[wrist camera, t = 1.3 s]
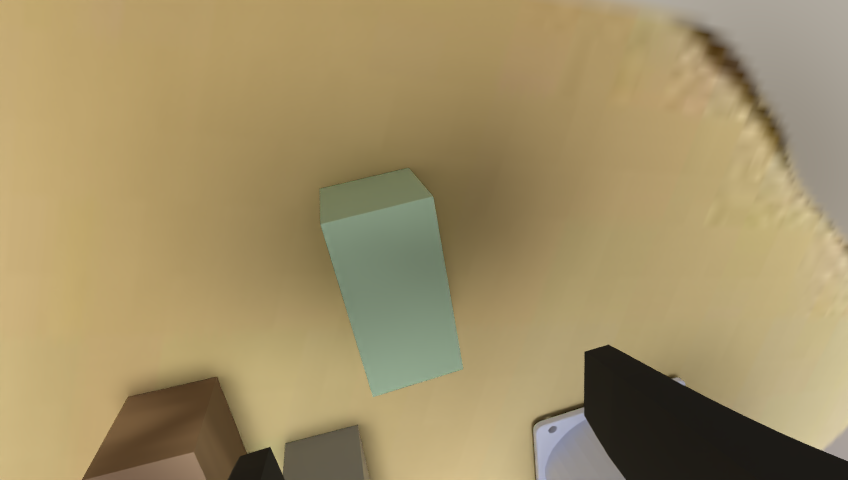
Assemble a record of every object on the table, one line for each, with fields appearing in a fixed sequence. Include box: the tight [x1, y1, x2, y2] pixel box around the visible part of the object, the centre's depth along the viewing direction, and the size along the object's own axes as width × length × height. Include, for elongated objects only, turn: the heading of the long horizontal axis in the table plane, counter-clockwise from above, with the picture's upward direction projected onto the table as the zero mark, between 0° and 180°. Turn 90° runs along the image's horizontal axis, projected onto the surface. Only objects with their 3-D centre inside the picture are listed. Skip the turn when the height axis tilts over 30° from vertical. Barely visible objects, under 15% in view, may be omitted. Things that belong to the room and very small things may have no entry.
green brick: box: [320, 168, 463, 397], centre depth 16 cm, size 4×7×4 cm, turn 10°
